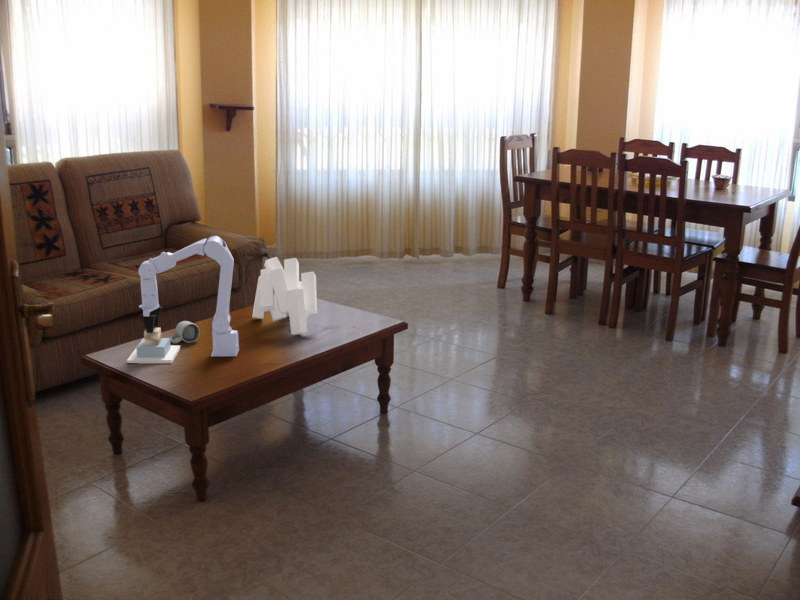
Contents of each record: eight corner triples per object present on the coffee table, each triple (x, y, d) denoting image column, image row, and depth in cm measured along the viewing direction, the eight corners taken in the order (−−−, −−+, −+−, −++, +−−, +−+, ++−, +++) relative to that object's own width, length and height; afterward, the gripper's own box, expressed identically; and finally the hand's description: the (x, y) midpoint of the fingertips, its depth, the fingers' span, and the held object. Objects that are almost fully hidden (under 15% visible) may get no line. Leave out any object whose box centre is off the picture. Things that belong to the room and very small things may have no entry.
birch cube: (161, 340, 310) (160, 327, 309) (158, 344, 305) (157, 331, 304) (147, 340, 310) (146, 327, 308) (144, 344, 305) (143, 331, 304)
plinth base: (180, 348, 317) (179, 335, 316) (171, 363, 302) (170, 349, 300) (137, 348, 316) (136, 335, 315) (127, 363, 301) (125, 350, 299)
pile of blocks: (340, 340, 344) (342, 258, 352) (291, 329, 320) (294, 242, 328) (278, 347, 364) (281, 269, 371) (227, 337, 340) (232, 255, 347)
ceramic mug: (192, 335, 332) (191, 317, 330) (201, 340, 326) (199, 322, 323) (167, 340, 326) (165, 322, 324) (175, 346, 320) (173, 327, 317)
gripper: (143, 288, 309) (146, 323, 313) (133, 299, 295) (136, 335, 299) (162, 288, 309) (165, 323, 313) (153, 299, 295) (156, 335, 299)
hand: (152, 329), depth 306 cm, fingers open, 7 cm apart
